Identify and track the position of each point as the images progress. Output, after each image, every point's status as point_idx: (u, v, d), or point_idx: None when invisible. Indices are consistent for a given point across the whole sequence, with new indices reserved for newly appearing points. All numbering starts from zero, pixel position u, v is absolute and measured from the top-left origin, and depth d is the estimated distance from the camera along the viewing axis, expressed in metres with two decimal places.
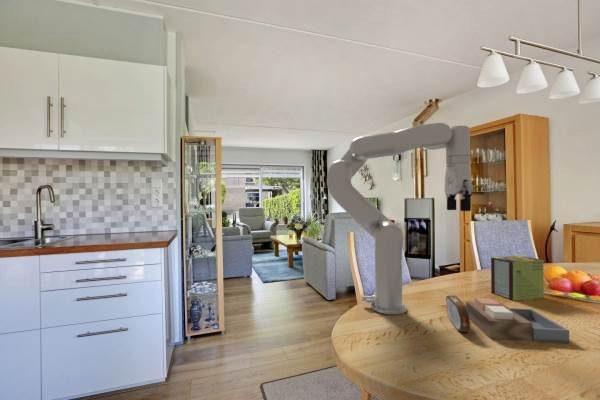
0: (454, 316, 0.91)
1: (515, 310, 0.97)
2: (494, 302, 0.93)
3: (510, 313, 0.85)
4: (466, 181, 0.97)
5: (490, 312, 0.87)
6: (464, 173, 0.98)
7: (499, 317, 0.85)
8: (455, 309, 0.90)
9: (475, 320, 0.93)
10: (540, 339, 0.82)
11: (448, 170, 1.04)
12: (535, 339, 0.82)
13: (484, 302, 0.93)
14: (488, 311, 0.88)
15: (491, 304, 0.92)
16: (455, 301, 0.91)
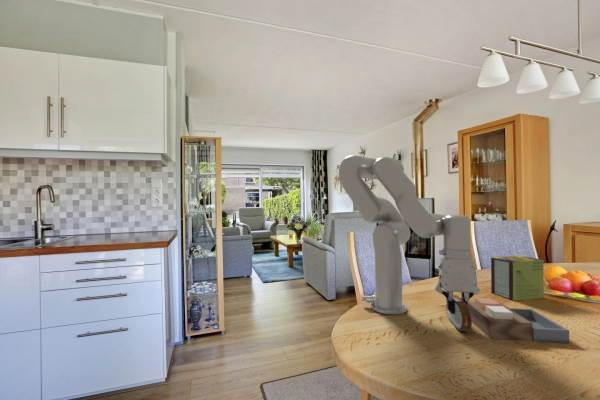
0: (455, 315, 0.91)
1: (515, 310, 0.97)
2: (494, 302, 0.93)
3: (510, 313, 0.85)
4: None
5: (490, 312, 0.87)
6: None
7: (499, 317, 0.85)
8: (457, 308, 0.89)
9: (475, 320, 0.93)
10: (540, 339, 0.82)
11: (457, 264, 0.90)
12: (535, 339, 0.82)
13: (484, 302, 0.93)
14: (488, 311, 0.88)
15: (491, 304, 0.92)
16: (457, 301, 0.91)
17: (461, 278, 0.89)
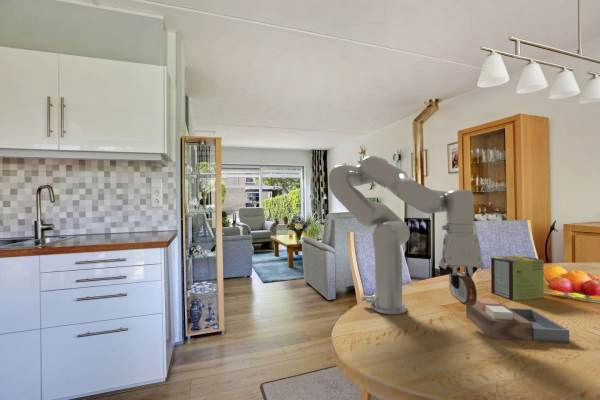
0: (459, 290, 0.91)
1: (515, 310, 0.97)
2: (494, 302, 0.93)
3: (510, 313, 0.85)
4: None
5: (490, 312, 0.87)
6: None
7: (499, 317, 0.85)
8: (461, 283, 0.89)
9: (475, 320, 0.93)
10: (540, 339, 0.82)
11: (460, 239, 0.89)
12: (535, 339, 0.82)
13: (484, 302, 0.93)
14: (488, 311, 0.88)
15: (491, 304, 0.92)
16: (461, 275, 0.91)
17: (465, 252, 0.89)
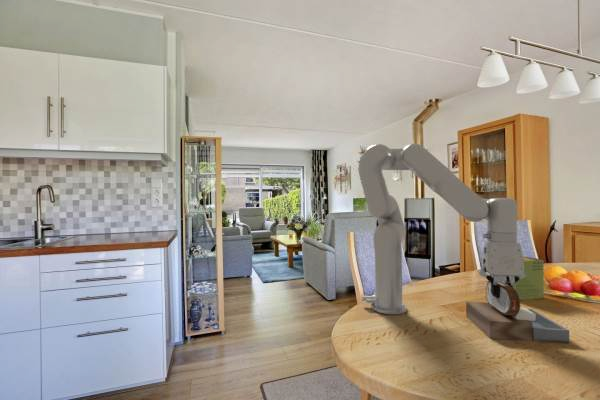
0: (499, 300, 0.89)
1: None
2: None
3: (533, 314, 0.84)
4: None
5: None
6: None
7: (522, 318, 0.84)
8: (503, 293, 0.88)
9: (475, 320, 0.93)
10: (540, 339, 0.82)
11: (503, 248, 0.88)
12: (535, 339, 0.82)
13: None
14: None
15: None
16: (502, 285, 0.89)
17: (507, 262, 0.88)
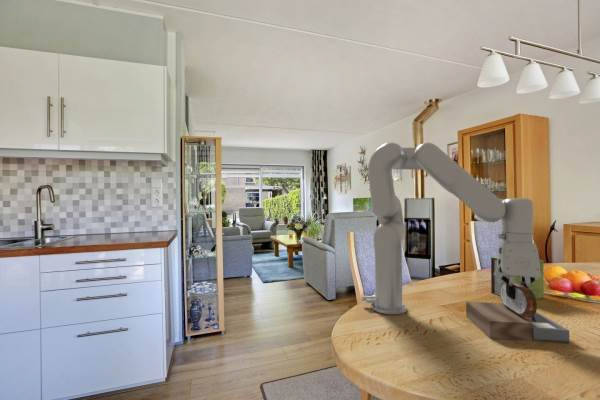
0: (514, 301, 0.89)
1: None
2: None
3: None
4: None
5: None
6: None
7: None
8: (518, 293, 0.87)
9: (475, 320, 0.93)
10: (540, 339, 0.82)
11: (519, 248, 0.87)
12: (535, 339, 0.82)
13: None
14: None
15: (530, 317, 0.91)
16: (518, 286, 0.89)
17: (523, 262, 0.87)
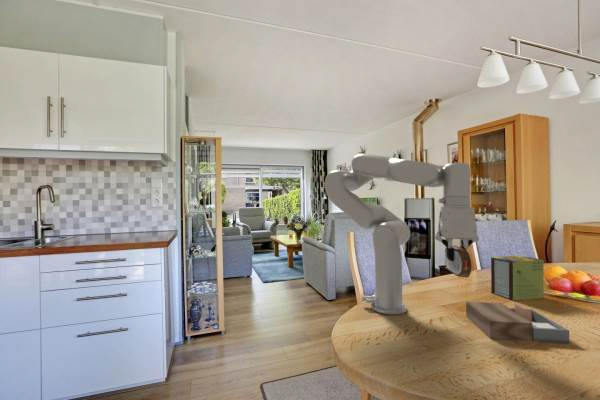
0: (454, 263, 0.91)
1: None
2: None
3: None
4: None
5: None
6: None
7: None
8: (456, 255, 0.89)
9: (475, 320, 0.93)
10: (540, 339, 0.82)
11: (456, 211, 0.90)
12: (535, 339, 0.82)
13: None
14: None
15: (530, 317, 0.91)
16: (456, 248, 0.91)
17: (460, 225, 0.89)
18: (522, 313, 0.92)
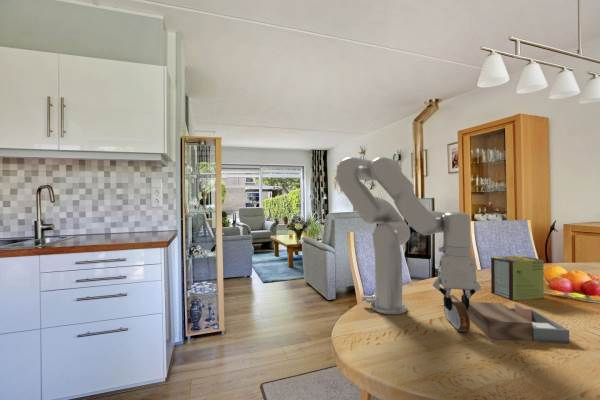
0: (453, 316, 0.91)
1: None
2: None
3: None
4: None
5: None
6: None
7: None
8: (454, 309, 0.90)
9: (475, 320, 0.93)
10: (540, 339, 0.82)
11: (456, 262, 0.90)
12: (535, 339, 0.82)
13: None
14: None
15: (530, 317, 0.91)
16: (454, 301, 0.91)
17: (460, 275, 0.90)
18: (522, 313, 0.92)
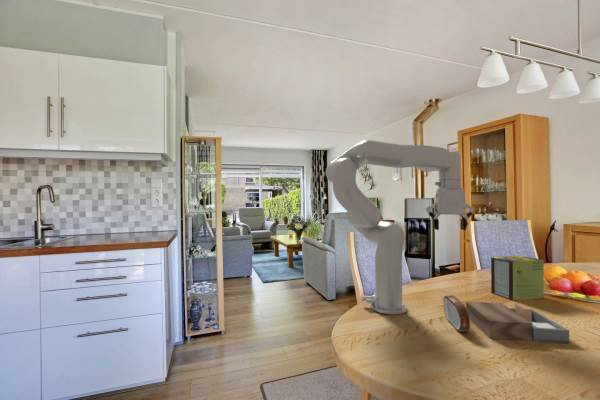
0: (453, 316, 0.91)
1: None
2: None
3: None
4: None
5: None
6: None
7: None
8: (454, 309, 0.90)
9: (475, 320, 0.93)
10: (540, 339, 0.82)
11: (449, 191, 1.09)
12: (535, 339, 0.82)
13: None
14: None
15: (530, 317, 0.91)
16: (454, 301, 0.91)
17: (453, 203, 1.09)
18: (522, 313, 0.92)
